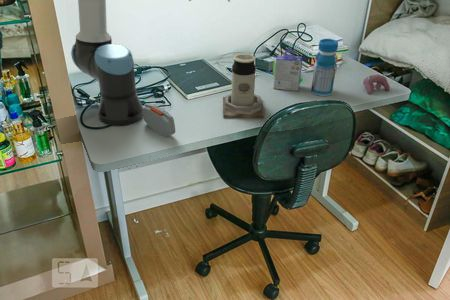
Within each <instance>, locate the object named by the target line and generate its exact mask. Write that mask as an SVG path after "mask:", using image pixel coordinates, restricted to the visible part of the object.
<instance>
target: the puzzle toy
mask: <svg viewBox="0 0 450 300" xmlns="http://www.w3.org/2000/svg"><path fill="white" fill-rule="evenodd" d="M275 63H276V59H275V58H274V59H273V64H272V65H273V67H272V74H273V77H274V76H275Z"/></svg>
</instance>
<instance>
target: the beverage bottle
mask: <svg viewBox="0 0 450 300" xmlns="http://www.w3.org/2000/svg"><path fill="white" fill-rule="evenodd" d="M338 48H339V42H338V40H336V39H332V38H322V39H320V40H319V41H318V52H317V54H316V55H315V56H314V60H315V62H314V63H313V73H312V74H313V75H312V82H311V87H310V91H311V92H312V94H314V95H317V96H319V97H327V96H330V95H332V94H333V90H334V83H335V78H336V77H335V76H336V71H337V68H338V65H337V63H338V55H337V51H338Z"/></svg>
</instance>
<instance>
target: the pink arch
mask: <svg viewBox="0 0 450 300" xmlns="http://www.w3.org/2000/svg"><path fill="white" fill-rule="evenodd" d="M362 83H363V85H364V89H365V90H366V92H367V94H369V95H371V94H372V93H373V91H374V90H380V89H381V88H382V87H383V88H384V89H385V91H386V92H389V91H390V90H391V87H390V84H389V82H388V80H387V77H385V76H384V75H382V74H372V75H369V76H367V77H365V78H364V79H363V82H362ZM374 83H375V84H374Z"/></svg>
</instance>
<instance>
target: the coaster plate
mask: <svg viewBox="0 0 450 300" xmlns="http://www.w3.org/2000/svg"><path fill="white" fill-rule="evenodd" d="M225 118H226V119H228V118H229V119H233V118H234V119H239V118H241V119H264V118H265V113H264V108H263V101H262V97H261V96H260V95H258V94H255V93H254V104H253V105H252V106H235V105H233V104H231V93H229V94H226V95H225V96H222V119H225Z"/></svg>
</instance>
